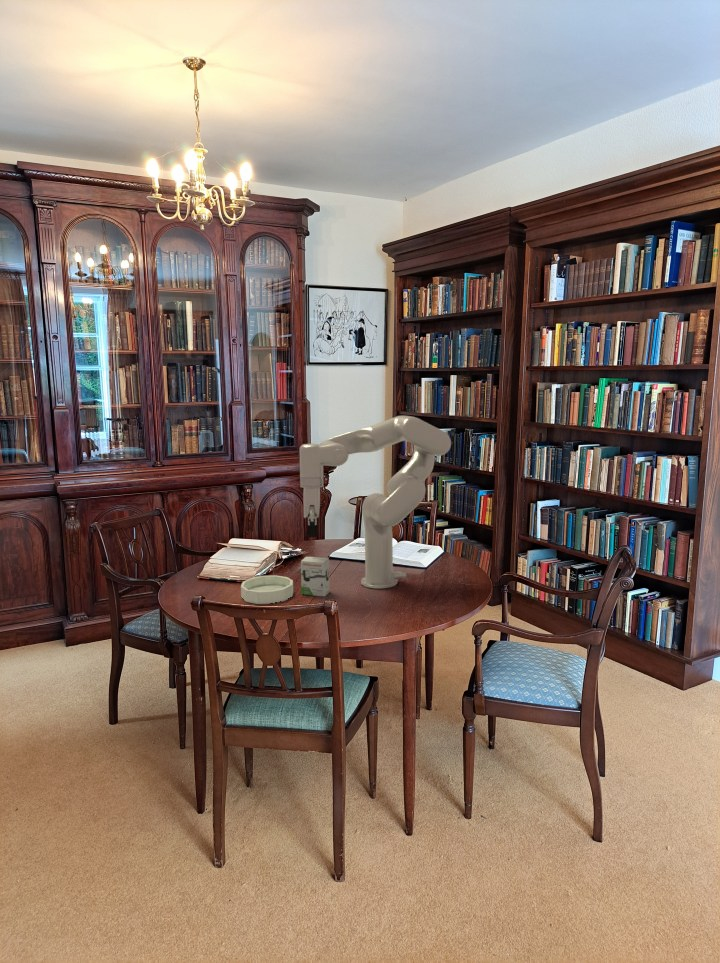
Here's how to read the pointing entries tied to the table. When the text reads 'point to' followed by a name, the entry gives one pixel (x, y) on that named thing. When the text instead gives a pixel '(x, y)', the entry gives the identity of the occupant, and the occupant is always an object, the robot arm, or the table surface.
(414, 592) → the table surface
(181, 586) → the table surface
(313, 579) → the ink box
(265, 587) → the dish
